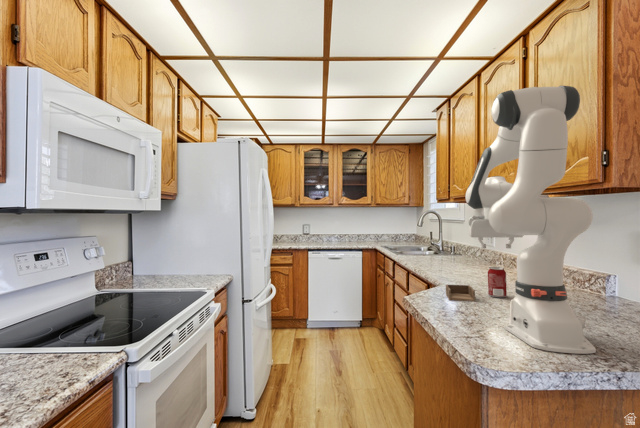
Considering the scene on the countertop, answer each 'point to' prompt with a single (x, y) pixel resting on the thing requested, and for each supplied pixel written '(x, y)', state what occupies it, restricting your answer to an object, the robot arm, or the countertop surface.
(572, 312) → the robot arm
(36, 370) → the countertop surface
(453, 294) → the can rest
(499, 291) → the soda can
